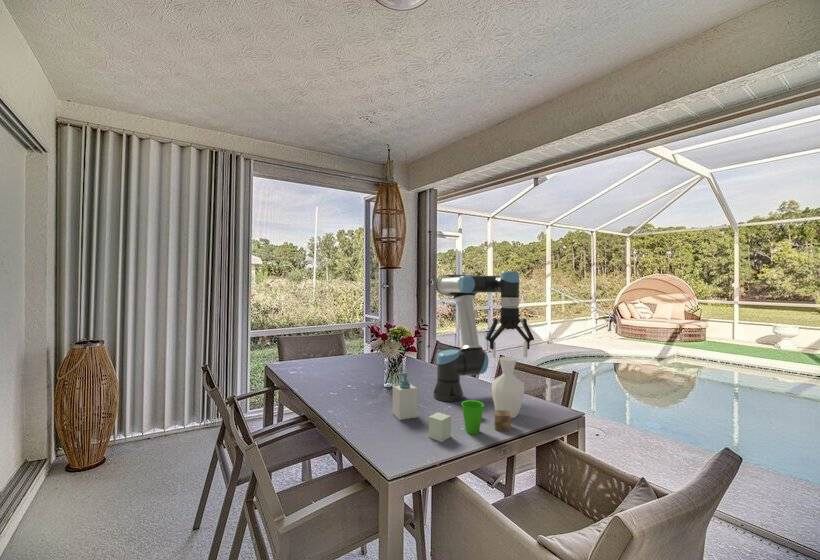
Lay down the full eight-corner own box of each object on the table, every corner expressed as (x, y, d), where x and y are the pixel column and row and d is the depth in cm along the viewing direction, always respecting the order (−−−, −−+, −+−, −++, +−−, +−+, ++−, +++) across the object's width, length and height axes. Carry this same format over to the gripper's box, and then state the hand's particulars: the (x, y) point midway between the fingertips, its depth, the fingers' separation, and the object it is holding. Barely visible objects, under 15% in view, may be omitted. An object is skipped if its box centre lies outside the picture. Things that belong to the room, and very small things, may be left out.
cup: (458, 427, 149) (458, 400, 149) (480, 426, 150) (480, 399, 150) (463, 437, 140) (464, 408, 140) (487, 436, 141) (487, 407, 141)
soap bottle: (392, 413, 164) (392, 371, 164) (410, 410, 168) (410, 369, 168) (399, 420, 156) (399, 375, 156) (417, 417, 160) (417, 373, 160)
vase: (506, 423, 153) (506, 363, 153) (484, 412, 166) (484, 357, 166) (531, 417, 160) (531, 360, 160) (508, 407, 172) (508, 354, 172)
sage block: (428, 437, 140) (428, 416, 140) (438, 432, 144) (438, 412, 144) (441, 442, 136) (441, 420, 136) (450, 436, 140) (450, 415, 140)
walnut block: (495, 430, 147) (495, 415, 146) (494, 424, 152) (494, 410, 152) (510, 431, 145) (510, 416, 145) (509, 425, 151) (509, 411, 151)
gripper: (482, 307, 152) (482, 359, 152) (542, 307, 153) (541, 358, 153) (478, 306, 160) (478, 355, 160) (535, 306, 161) (535, 354, 161)
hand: (509, 357), depth 156 cm, fingers open, 13 cm apart
